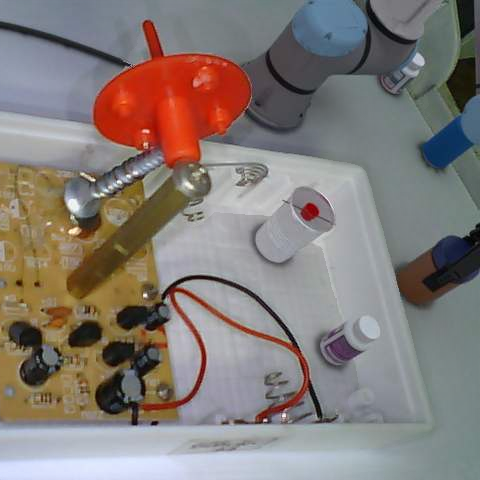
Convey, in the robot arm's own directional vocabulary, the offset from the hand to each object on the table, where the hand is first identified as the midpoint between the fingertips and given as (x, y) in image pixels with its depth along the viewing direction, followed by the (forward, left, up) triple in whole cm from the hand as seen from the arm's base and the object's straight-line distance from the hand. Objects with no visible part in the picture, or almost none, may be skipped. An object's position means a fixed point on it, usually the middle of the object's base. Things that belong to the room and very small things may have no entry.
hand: (436, 271), depth 139 cm
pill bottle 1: (-22, -14, -6) cm, 27 cm away
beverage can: (+15, +32, -6) cm, 36 cm away
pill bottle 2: (+9, +50, -6) cm, 51 cm away
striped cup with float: (-30, +4, -6) cm, 31 cm away
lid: (0, 0, +6) cm, 6 cm away
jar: (0, 0, -6) cm, 6 cm away
